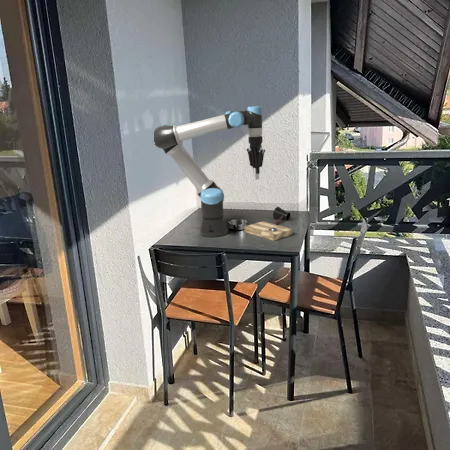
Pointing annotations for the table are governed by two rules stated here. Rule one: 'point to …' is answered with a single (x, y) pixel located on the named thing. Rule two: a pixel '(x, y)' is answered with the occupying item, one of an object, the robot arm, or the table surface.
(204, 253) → the table surface
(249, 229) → the wooden board
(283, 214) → the coffee pot
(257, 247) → the table surface
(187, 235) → the table surface
